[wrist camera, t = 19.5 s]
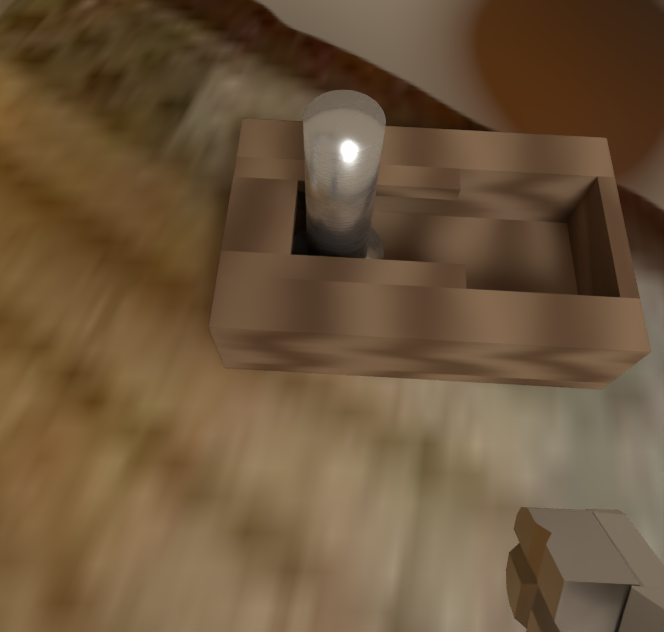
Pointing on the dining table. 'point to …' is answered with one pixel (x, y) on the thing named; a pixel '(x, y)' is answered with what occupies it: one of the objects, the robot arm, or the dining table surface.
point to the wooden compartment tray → (436, 264)
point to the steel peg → (341, 176)
